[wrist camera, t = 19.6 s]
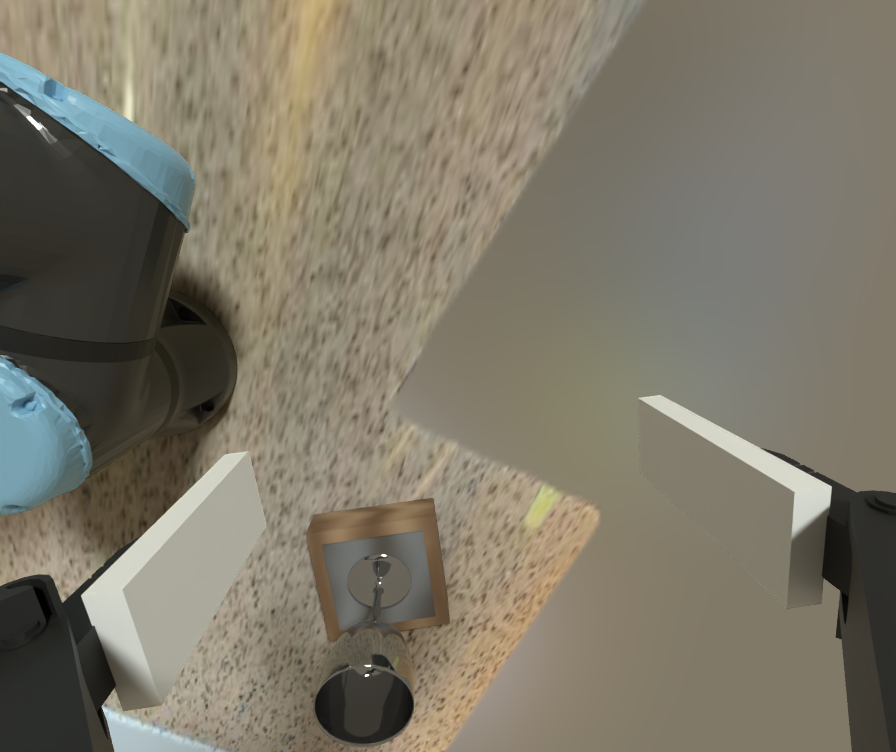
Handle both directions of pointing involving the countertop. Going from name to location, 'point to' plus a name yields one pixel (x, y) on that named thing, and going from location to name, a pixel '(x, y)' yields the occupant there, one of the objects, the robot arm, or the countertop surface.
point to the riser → (379, 532)
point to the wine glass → (369, 663)
